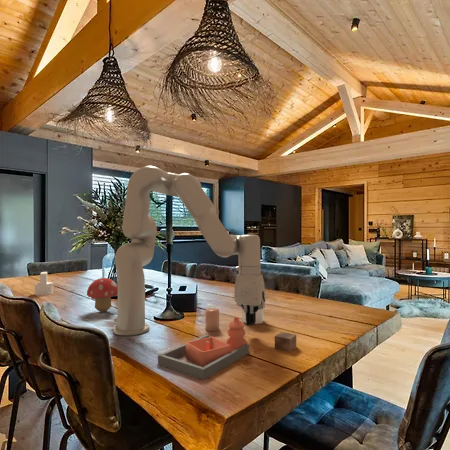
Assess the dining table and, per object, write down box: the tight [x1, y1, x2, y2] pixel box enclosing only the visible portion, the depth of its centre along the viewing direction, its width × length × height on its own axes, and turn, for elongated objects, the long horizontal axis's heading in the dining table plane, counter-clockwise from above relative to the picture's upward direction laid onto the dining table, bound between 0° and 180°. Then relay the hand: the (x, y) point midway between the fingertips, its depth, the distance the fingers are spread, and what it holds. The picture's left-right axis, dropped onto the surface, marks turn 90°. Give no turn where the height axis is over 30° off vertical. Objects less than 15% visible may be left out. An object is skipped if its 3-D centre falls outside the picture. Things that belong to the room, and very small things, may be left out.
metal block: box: [274, 331, 297, 353], centre depth 101 cm, size 5×5×4 cm
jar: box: [241, 307, 264, 325], centre depth 130 cm, size 9×8×12 cm
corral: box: [157, 334, 250, 381], centre depth 93 cm, size 16×21×2 cm
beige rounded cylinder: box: [204, 307, 220, 332], centre depth 120 cm, size 5×5×7 cm
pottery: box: [185, 317, 248, 367], centre depth 96 cm, size 18×10×10 cm, turn 125°
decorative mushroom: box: [86, 277, 118, 313], centre depth 146 cm, size 13×13×15 cm
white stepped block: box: [34, 271, 54, 296], centre depth 187 cm, size 9×9×12 cm
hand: (250, 324), depth 113 cm, fingers closed
